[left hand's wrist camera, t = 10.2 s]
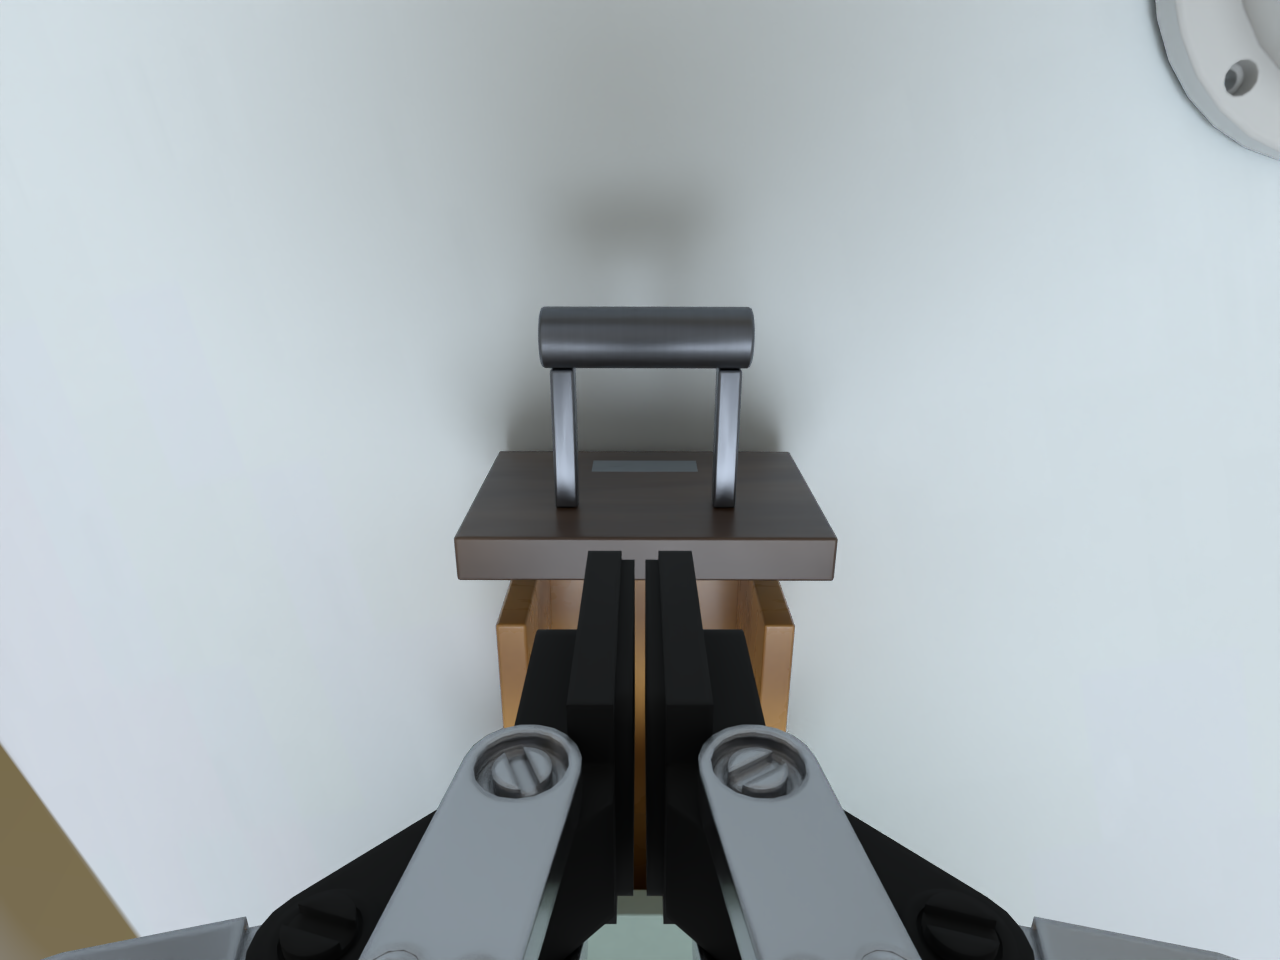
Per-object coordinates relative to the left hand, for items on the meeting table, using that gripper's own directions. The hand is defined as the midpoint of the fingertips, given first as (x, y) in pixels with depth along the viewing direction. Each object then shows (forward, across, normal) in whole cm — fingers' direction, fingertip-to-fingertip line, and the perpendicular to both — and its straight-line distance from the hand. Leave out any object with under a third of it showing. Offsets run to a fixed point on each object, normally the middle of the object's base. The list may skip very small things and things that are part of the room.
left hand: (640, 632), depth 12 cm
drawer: (+13, 0, -8) cm, 15 cm away
